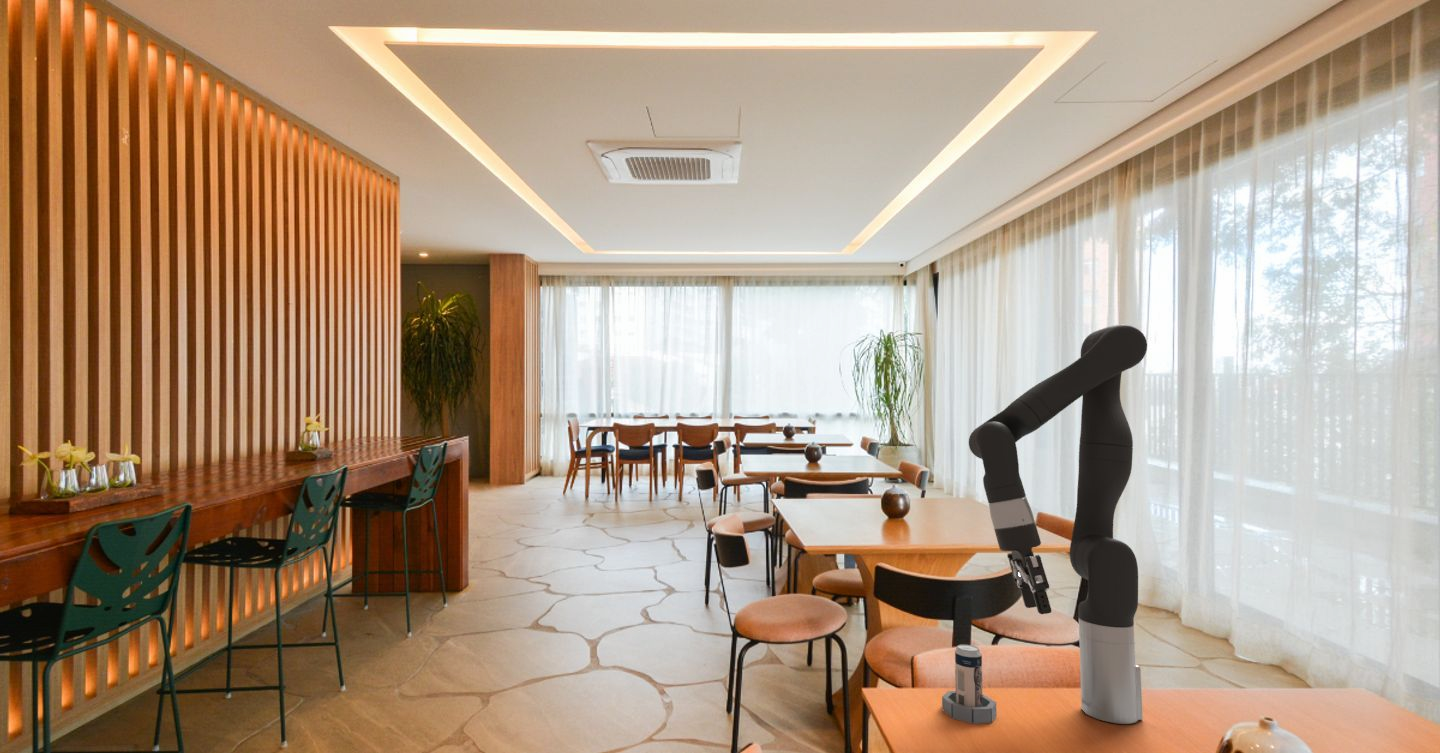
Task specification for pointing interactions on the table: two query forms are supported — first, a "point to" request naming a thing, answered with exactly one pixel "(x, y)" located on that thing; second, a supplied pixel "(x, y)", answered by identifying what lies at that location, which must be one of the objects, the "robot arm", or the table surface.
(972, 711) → the holder ring
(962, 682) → the beer can
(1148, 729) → the table surface
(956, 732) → the table surface
